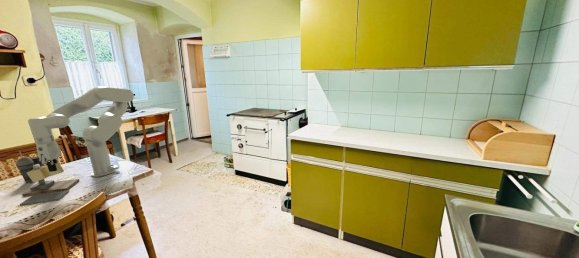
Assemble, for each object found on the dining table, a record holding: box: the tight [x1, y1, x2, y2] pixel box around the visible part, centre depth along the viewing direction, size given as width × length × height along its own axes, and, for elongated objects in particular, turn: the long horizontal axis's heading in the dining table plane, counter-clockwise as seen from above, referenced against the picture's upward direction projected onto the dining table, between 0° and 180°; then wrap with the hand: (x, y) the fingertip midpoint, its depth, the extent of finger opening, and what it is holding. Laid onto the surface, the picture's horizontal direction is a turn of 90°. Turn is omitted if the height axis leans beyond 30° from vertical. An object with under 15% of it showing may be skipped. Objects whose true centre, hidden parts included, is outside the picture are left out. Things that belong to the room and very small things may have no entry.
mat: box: [19, 190, 70, 206], centre depth 123 cm, size 16×9×1 cm, turn 106°
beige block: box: [27, 162, 65, 183], centre depth 131 cm, size 13×6×6 cm, turn 105°
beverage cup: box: [15, 150, 34, 184], centre depth 140 cm, size 7×7×20 cm
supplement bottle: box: [30, 156, 45, 167], centre depth 150 cm, size 7×7×12 cm
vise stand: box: [21, 164, 80, 197], centre depth 132 cm, size 20×12×15 cm, turn 106°
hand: (54, 169), depth 132 cm, fingers closed on beige block
